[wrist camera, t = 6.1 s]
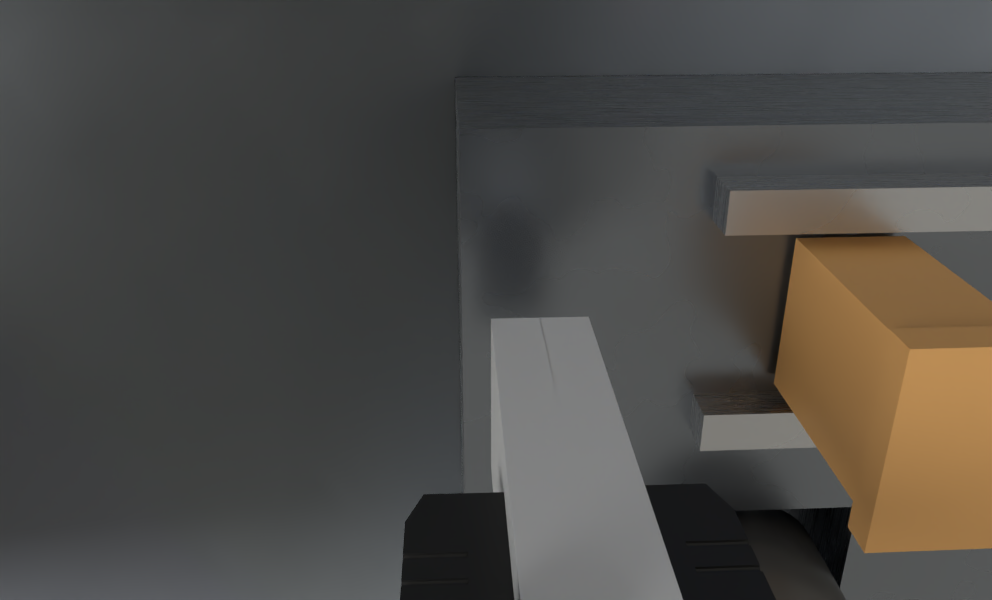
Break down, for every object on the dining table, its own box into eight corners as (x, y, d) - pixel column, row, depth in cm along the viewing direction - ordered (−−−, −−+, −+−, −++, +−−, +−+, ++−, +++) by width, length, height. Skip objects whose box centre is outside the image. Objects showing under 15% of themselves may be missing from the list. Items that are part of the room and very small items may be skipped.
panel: (463, 583, 25) (469, 749, 20) (454, 77, 19) (460, 141, 14) (1280, 551, 26) (1468, 700, 21) (1508, 67, 20) (1840, 123, 15)
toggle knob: (762, 392, 17) (864, 553, 13) (786, 228, 16) (910, 348, 12) (883, 389, 17) (1022, 547, 13) (917, 224, 16) (1086, 344, 12)
